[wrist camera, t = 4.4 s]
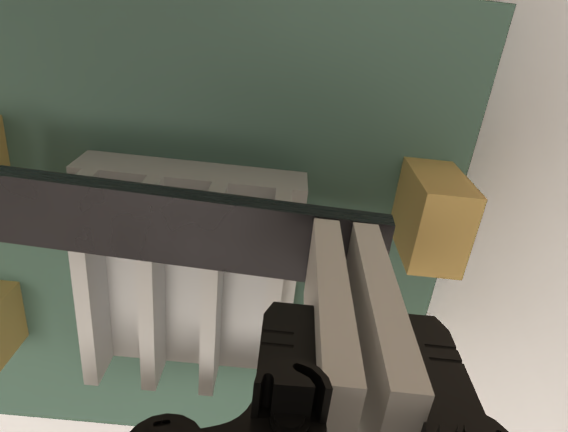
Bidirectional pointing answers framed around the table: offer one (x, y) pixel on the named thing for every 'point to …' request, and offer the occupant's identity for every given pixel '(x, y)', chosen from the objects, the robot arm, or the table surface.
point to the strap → (167, 223)
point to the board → (229, 116)
